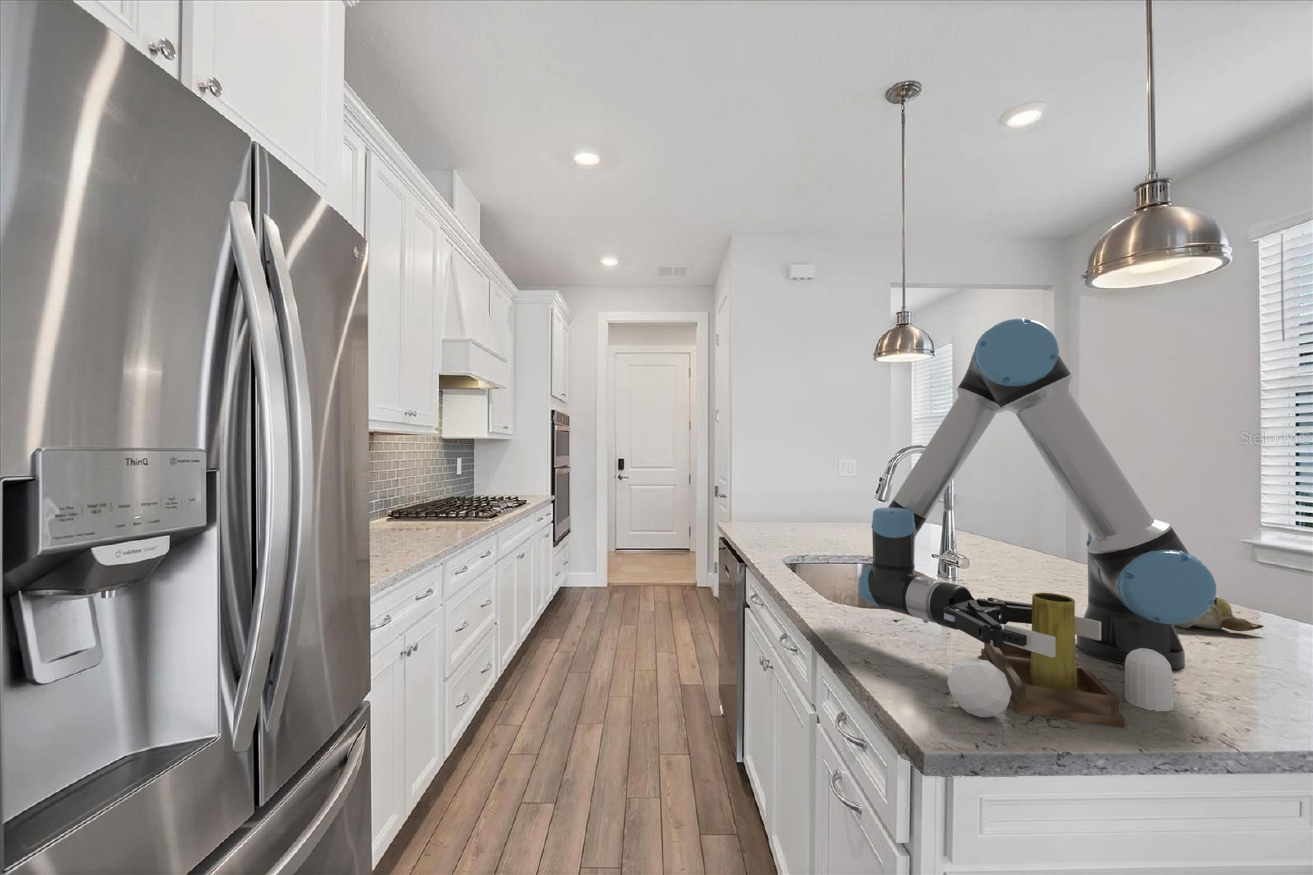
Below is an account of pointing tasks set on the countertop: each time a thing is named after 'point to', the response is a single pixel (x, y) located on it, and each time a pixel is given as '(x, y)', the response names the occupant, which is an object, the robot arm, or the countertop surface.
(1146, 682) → the white dome-topped block
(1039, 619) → the vase
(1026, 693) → the tray
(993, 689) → the ball
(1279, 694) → the countertop surface
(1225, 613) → the ceramic sculpture
